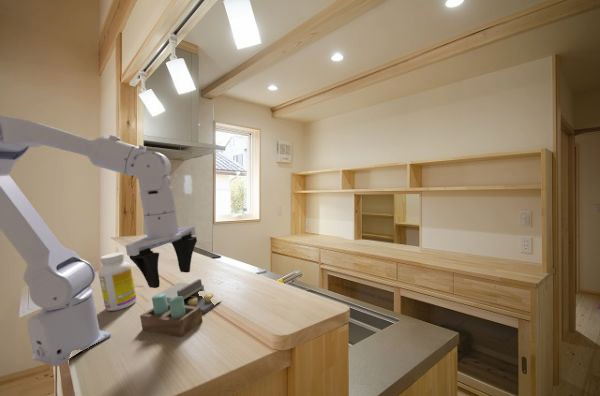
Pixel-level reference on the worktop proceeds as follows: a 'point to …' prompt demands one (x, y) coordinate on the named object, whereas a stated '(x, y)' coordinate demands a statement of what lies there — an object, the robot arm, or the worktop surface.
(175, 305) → the pin loose
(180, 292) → the housing
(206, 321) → the worktop surface
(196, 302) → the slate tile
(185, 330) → the socket strip
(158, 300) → the pin seated
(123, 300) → the supplement bottle
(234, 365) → the worktop surface
